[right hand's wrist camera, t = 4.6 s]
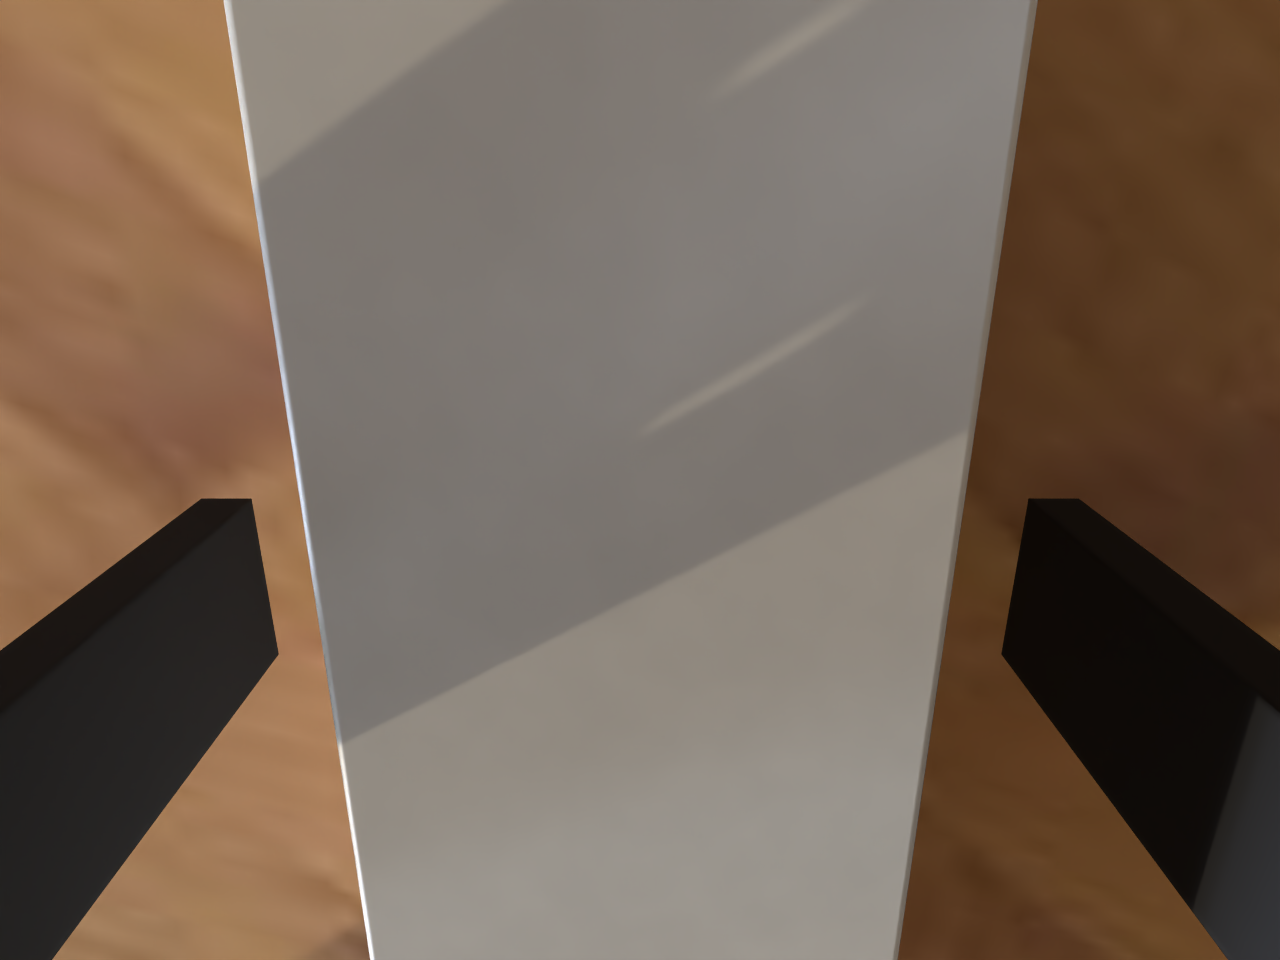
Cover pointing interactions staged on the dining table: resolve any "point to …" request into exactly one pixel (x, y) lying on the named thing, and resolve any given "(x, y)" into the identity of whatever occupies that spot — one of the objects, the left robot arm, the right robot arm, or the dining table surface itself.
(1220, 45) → the dining table surface
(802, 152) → the post
